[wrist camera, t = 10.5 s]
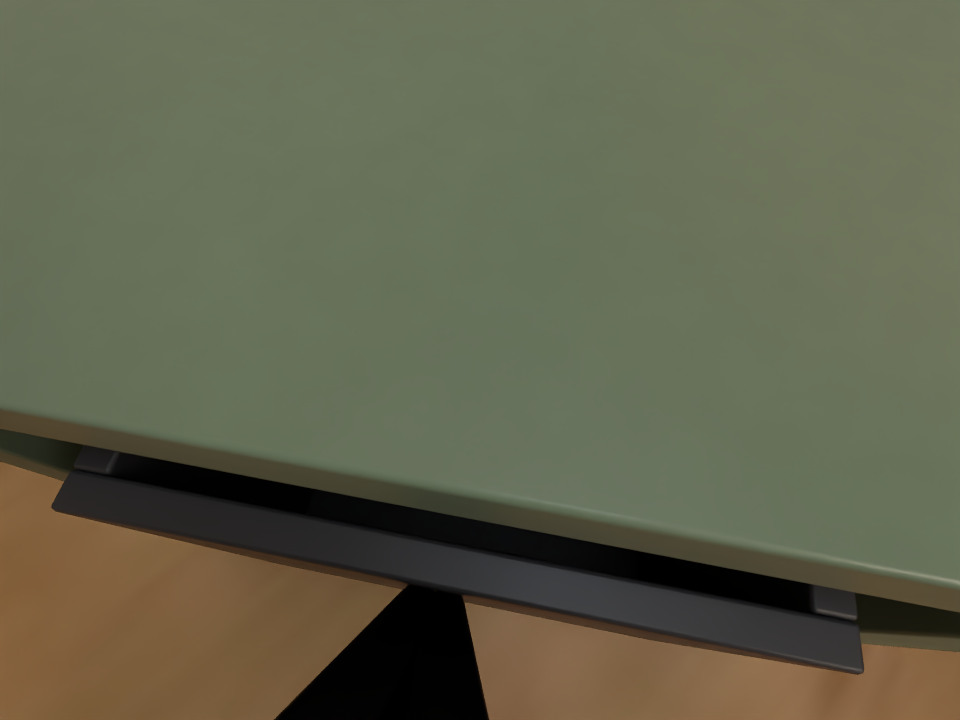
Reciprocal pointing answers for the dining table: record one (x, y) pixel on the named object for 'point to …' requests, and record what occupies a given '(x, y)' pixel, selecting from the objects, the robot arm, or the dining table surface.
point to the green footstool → (509, 267)
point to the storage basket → (471, 560)
